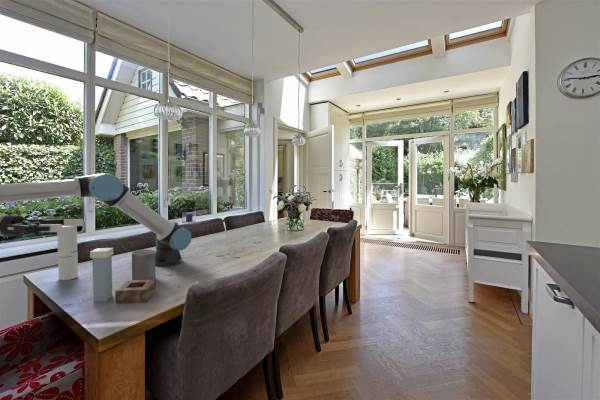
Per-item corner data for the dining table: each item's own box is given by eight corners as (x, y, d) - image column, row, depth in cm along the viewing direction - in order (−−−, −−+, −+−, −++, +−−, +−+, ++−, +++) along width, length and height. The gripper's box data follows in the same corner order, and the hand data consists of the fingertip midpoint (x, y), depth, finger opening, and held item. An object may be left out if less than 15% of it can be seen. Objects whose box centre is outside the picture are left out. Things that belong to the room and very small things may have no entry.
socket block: (115, 306, 107) (115, 290, 106) (127, 294, 118) (127, 280, 117) (147, 304, 109) (147, 289, 109) (156, 293, 120) (155, 279, 119)
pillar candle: (133, 278, 137) (133, 247, 136) (156, 275, 141) (155, 246, 140) (130, 285, 128) (129, 252, 127) (154, 282, 132) (154, 251, 131)
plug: (91, 304, 108) (90, 251, 106) (98, 298, 113) (97, 248, 112) (107, 303, 109) (106, 251, 107) (114, 297, 114) (113, 247, 113)
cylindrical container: (81, 276, 138) (80, 225, 136) (65, 281, 131) (63, 227, 130) (71, 274, 140) (70, 224, 139) (55, 278, 134) (53, 226, 132)
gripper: (32, 229, 116) (90, 229, 120) (-25, 243, 91) (51, 242, 95) (31, 211, 115) (90, 211, 119) (-27, 219, 91) (50, 219, 95)
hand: (73, 225), depth 107 cm, fingers open, 13 cm apart
